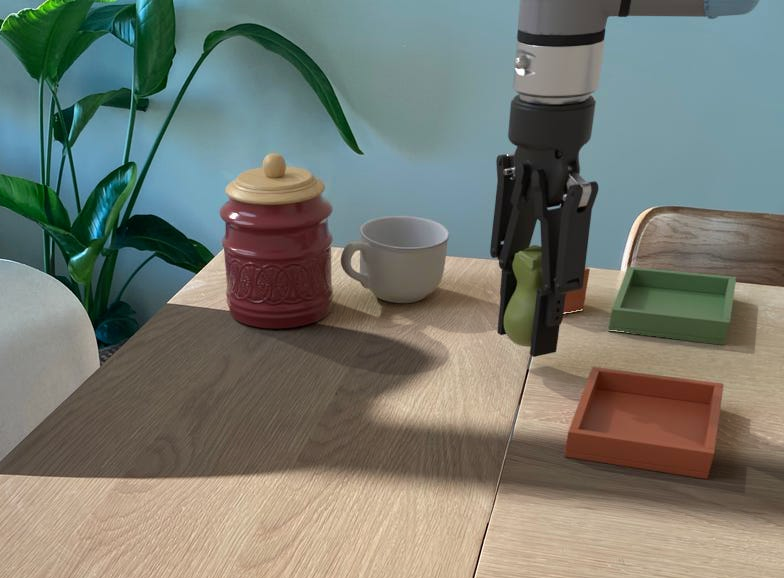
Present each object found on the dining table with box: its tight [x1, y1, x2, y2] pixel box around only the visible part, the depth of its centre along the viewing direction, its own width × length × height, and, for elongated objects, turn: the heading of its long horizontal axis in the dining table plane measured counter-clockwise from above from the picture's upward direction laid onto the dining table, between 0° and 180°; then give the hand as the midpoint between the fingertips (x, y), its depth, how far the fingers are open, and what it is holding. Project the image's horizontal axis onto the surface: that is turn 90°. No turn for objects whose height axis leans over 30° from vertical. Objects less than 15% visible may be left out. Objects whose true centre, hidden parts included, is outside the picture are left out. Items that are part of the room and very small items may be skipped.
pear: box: [504, 244, 555, 348], centre depth 100 cm, size 6×5×10 cm
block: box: [563, 266, 591, 313], centre depth 116 cm, size 5×5×5 cm
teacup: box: [340, 215, 450, 304], centre depth 119 cm, size 14×11×8 cm
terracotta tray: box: [563, 366, 724, 480], centre depth 93 cm, size 15×13×3 cm
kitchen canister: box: [219, 152, 334, 330], centre depth 113 cm, size 13×13×18 cm
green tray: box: [608, 266, 737, 346], centre depth 114 cm, size 15×13×3 cm
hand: (526, 341), depth 103 cm, fingers closed on pear, 6 cm apart
